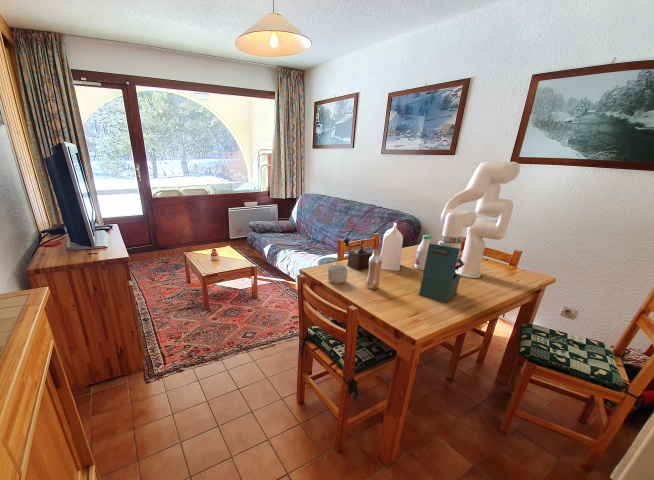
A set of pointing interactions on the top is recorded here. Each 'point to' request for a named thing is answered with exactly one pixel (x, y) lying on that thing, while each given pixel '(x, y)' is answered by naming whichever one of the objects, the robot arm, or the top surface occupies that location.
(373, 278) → the plastic bottle
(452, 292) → the cool box
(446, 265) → the cool box lid
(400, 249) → the milk
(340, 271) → the teacup
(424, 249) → the milk bottle
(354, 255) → the manual coffee grinder
